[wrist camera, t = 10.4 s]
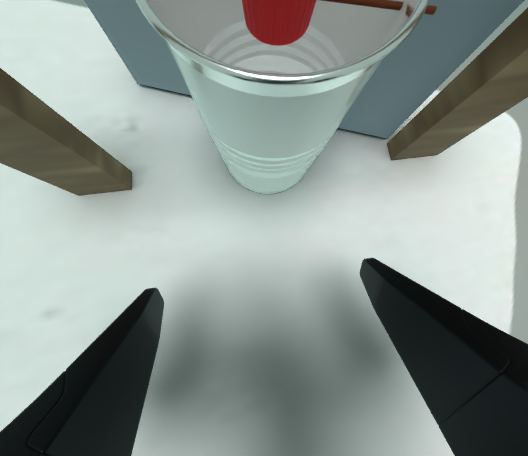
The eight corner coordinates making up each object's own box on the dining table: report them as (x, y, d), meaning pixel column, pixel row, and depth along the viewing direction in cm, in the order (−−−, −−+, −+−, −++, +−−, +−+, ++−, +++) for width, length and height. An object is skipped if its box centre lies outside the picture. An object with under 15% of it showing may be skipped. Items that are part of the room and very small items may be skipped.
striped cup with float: (197, 195, 17) (56, 53, 5) (214, 97, 18) (130, -201, 6) (323, 211, 17) (468, 106, 5) (332, 113, 18) (468, -156, 6)
